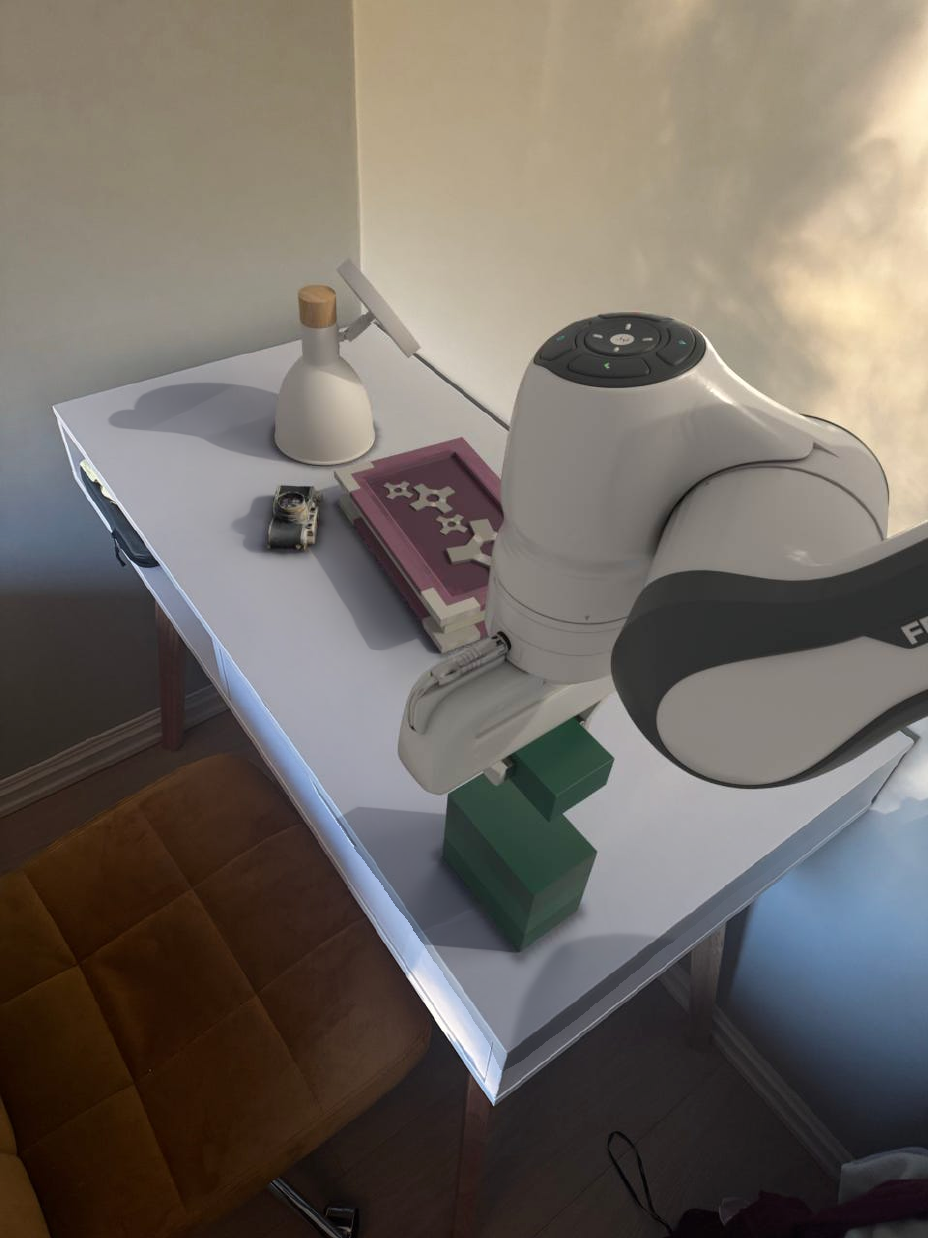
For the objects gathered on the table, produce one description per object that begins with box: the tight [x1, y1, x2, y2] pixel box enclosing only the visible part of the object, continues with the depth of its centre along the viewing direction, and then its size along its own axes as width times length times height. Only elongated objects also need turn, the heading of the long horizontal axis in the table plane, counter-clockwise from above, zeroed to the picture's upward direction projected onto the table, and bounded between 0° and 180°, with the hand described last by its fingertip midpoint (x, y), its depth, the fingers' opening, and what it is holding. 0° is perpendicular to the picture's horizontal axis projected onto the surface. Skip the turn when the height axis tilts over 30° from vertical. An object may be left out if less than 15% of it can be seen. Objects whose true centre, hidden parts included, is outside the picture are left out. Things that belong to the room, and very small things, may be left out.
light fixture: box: [274, 257, 421, 466], centre depth 107 cm, size 13×21×20 cm
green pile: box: [441, 772, 598, 953], centre depth 69 cm, size 10×6×9 cm, turn 37°
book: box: [333, 436, 504, 654], centre depth 97 cm, size 25×16×5 cm, turn 29°
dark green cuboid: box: [509, 717, 616, 822], centre depth 59 cm, size 9×5×3 cm, turn 37°
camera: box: [266, 484, 324, 551], centre depth 99 cm, size 5×10×4 cm, turn 0°
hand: (535, 750), depth 60 cm, fingers closed on dark green cuboid, 5 cm apart
